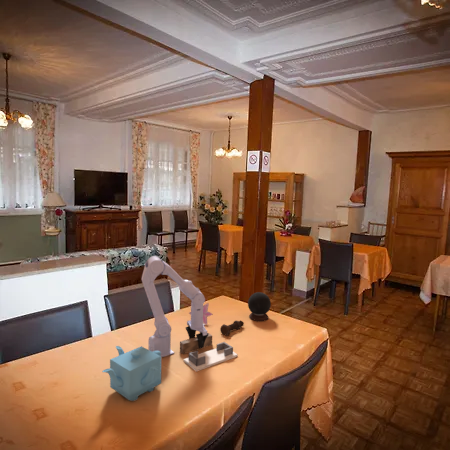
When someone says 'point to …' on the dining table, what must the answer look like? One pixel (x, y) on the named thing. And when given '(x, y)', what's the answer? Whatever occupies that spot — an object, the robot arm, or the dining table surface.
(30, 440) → the dining table surface
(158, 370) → the blue cube teapot
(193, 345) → the slat
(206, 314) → the lily
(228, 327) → the bolt
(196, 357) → the board
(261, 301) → the black ball on stand
